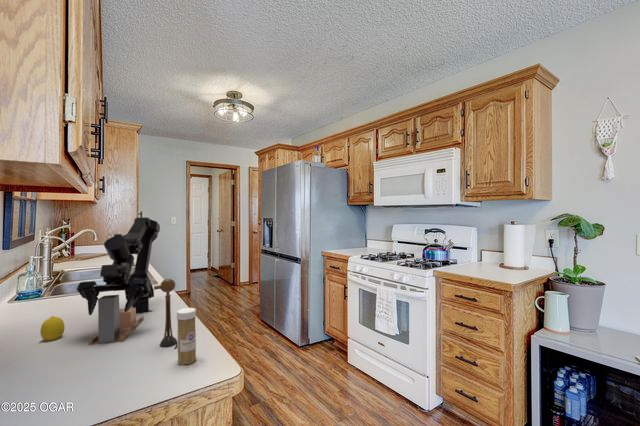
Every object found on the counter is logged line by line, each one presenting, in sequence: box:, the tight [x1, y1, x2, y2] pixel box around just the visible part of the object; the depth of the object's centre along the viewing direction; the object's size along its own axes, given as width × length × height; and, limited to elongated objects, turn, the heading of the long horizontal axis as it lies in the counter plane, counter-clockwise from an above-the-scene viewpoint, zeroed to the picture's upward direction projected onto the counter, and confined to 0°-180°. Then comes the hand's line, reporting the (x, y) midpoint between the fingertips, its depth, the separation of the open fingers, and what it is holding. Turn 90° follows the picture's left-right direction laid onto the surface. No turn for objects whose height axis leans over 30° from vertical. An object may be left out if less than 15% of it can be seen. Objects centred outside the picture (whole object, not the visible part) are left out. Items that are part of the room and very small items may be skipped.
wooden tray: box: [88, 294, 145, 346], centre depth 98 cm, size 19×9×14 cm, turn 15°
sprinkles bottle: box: [176, 307, 197, 366], centre depth 79 cm, size 5×5×13 cm
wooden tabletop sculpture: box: [153, 278, 178, 350], centre depth 87 cm, size 6×5×20 cm
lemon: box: [40, 315, 65, 342], centre depth 93 cm, size 6×6×8 cm
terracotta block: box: [119, 307, 137, 328], centre depth 103 cm, size 5×5×5 cm
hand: (107, 312), depth 90 cm, fingers open, 9 cm apart
